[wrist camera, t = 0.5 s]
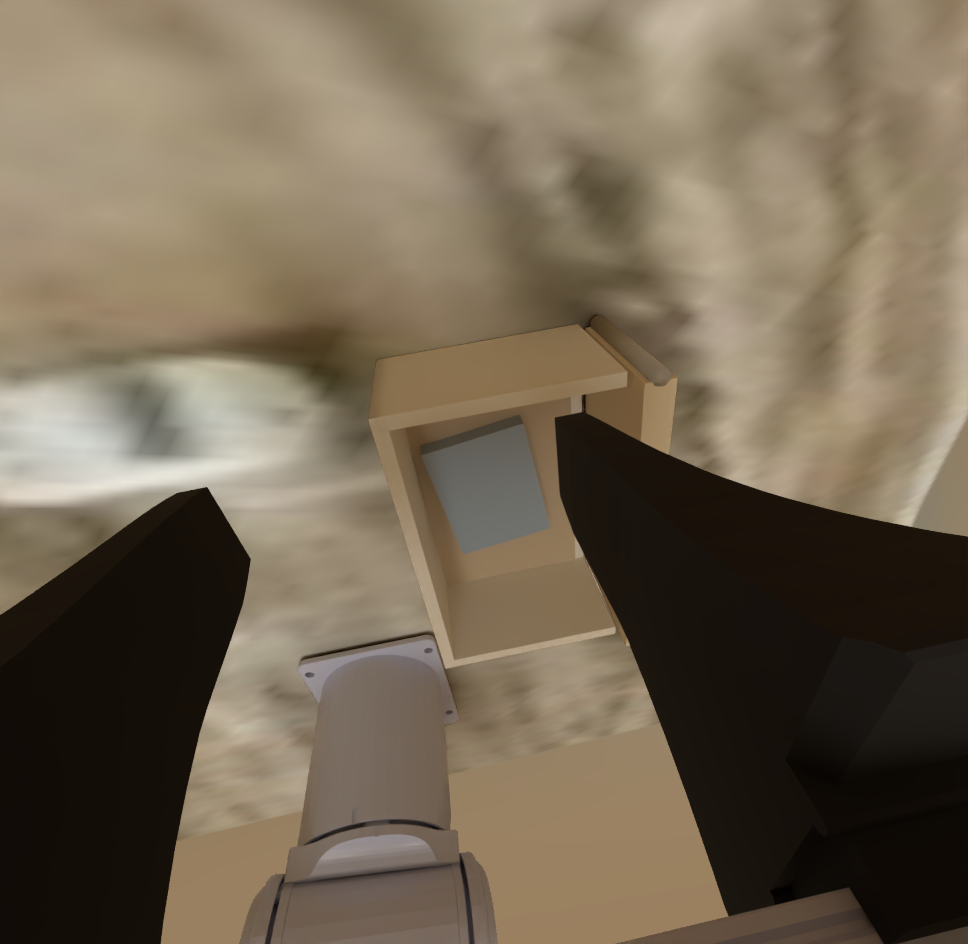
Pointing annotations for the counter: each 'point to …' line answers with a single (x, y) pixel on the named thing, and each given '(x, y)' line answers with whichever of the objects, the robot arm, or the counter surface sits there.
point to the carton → (555, 551)
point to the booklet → (487, 484)
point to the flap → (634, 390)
